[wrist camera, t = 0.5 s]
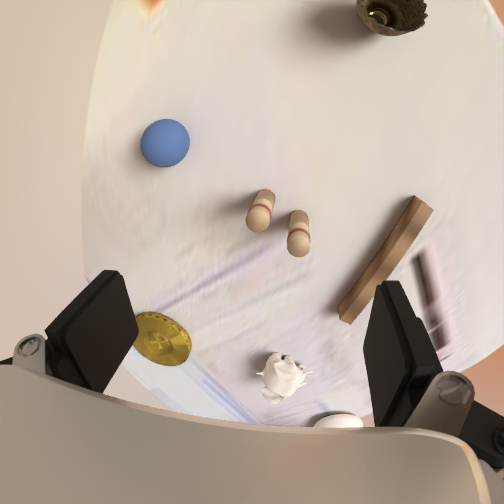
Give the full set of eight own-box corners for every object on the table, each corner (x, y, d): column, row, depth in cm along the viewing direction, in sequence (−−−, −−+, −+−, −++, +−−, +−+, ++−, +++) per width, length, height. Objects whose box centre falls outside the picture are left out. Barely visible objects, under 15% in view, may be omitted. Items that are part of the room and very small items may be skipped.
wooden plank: (414, 195, 34) (422, 202, 32) (425, 202, 35) (433, 210, 32) (337, 307, 44) (339, 319, 41) (348, 312, 44) (350, 324, 41)
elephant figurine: (303, 381, 52) (302, 411, 46) (254, 369, 52) (248, 399, 46) (318, 355, 49) (319, 386, 42) (264, 342, 49) (259, 373, 43)
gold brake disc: (125, 333, 54) (121, 340, 52) (147, 298, 49) (142, 306, 47) (175, 366, 56) (171, 374, 54) (204, 337, 51) (200, 345, 49)
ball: (163, 111, 35) (141, 113, 29) (203, 127, 35) (186, 131, 30) (148, 152, 37) (126, 160, 32) (186, 169, 38) (168, 179, 32)
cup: (359, 49, 28) (375, 34, 21) (338, -1, 25) (347, -26, 18) (412, 43, 26) (438, 30, 19) (391, -6, 23) (411, -28, 16)
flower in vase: (360, 430, 59) (364, 522, 37) (313, 434, 61) (308, 526, 39) (365, 402, 53) (373, 509, 31) (311, 407, 56) (305, 515, 34)
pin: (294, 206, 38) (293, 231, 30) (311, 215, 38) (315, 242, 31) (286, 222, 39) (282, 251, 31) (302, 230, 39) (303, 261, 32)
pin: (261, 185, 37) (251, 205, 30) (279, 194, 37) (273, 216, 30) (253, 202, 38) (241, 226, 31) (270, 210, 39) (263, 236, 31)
